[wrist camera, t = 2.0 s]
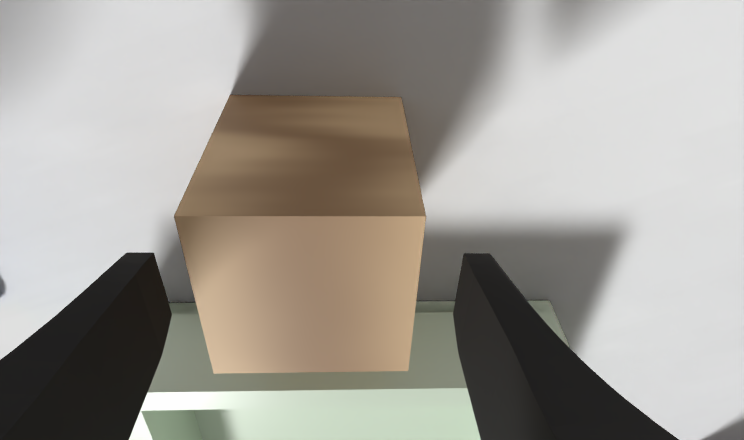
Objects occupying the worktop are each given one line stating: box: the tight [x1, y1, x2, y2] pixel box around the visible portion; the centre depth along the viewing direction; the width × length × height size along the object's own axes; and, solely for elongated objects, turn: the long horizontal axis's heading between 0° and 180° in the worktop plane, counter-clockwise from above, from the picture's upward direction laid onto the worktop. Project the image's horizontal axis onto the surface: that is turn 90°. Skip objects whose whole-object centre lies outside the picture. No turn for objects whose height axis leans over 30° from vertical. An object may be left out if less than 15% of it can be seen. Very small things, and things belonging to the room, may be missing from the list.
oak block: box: [174, 95, 426, 374], centre depth 14 cm, size 5×5×6 cm
